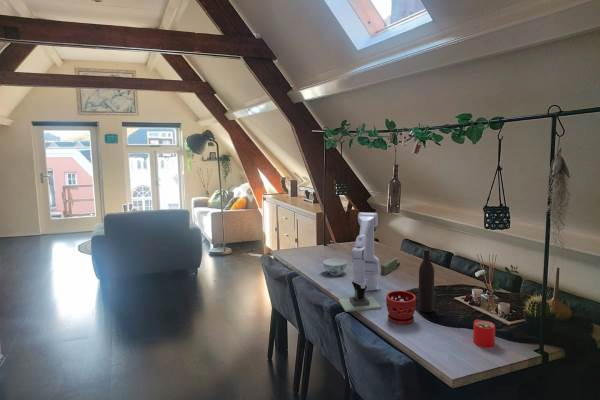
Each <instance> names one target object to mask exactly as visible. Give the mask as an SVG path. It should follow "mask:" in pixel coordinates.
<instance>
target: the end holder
mask: <svg viewBox="0 0 600 400" xmlns="http://www.w3.org/2000/svg"><path fill="white" fill-rule="evenodd" d="M338 303H339V305H340V306H341V307H342V309H343V310H344V312H345V313H346V312H350V313H351V312H358V311H361V312H362V311H371V310H380V309H381V310H382V305H381V304H380V303H378V301H377V300H376V299H375V298H374V296H365V301H356V300H355V296H349V298H339V299H338Z"/></svg>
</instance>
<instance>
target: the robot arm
mask: <svg viewBox="0 0 600 400" xmlns="http://www.w3.org/2000/svg"><path fill="white" fill-rule="evenodd" d="M357 222H358V224H359V226H360V227H359V234H358V235H357V236H356V239H355V243H354V245H353V248H352V249H351V254H350V255H351V261H352V270H353V273H352V274H353V277H352V281H351V284H352V286H353V289H354V291H355V290H357V294H358V299H363V296H364V292H367V291H378V290H380V288H379V287H378V273H380V271H381V263H380V259H379V257H377V256H376V255H375V228H376V227H378V225H379V214H378V213H377V212H364V211H363V212H362V211H360V212H358V214H357Z"/></svg>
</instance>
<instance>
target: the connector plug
mask: <svg viewBox="0 0 600 400" xmlns="http://www.w3.org/2000/svg"><path fill="white" fill-rule="evenodd" d="M365 292H366V291H365ZM365 292H364V296H363V299H358V294H357V290H354V297H355V300H356V301H365V297H366V295H365V294H366V293H365Z"/></svg>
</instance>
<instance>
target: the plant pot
mask: <svg viewBox="0 0 600 400" xmlns="http://www.w3.org/2000/svg"><path fill="white" fill-rule="evenodd" d="M385 300H386V309H387V312H388V314H387V318H388V320H389V321H390V322H392V323H395V324H397V325H407V324H411V323H412V322H413V321H414V318H415V317H414V314H415V311H416V305H417V304H416V303H417V297H416V295H415V294H414V293H412V292H409V291H405V290H393V291H392V290H391V291H390V292H387V293H386V296H385ZM400 300H402V301H400Z"/></svg>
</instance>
